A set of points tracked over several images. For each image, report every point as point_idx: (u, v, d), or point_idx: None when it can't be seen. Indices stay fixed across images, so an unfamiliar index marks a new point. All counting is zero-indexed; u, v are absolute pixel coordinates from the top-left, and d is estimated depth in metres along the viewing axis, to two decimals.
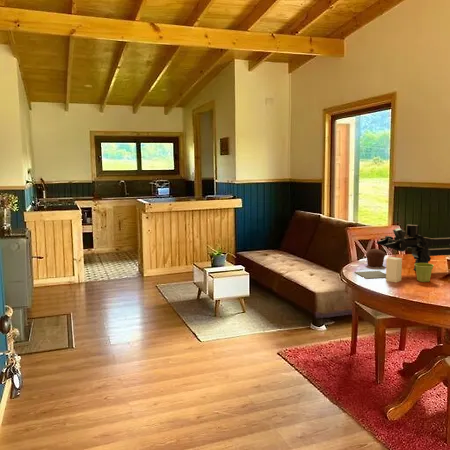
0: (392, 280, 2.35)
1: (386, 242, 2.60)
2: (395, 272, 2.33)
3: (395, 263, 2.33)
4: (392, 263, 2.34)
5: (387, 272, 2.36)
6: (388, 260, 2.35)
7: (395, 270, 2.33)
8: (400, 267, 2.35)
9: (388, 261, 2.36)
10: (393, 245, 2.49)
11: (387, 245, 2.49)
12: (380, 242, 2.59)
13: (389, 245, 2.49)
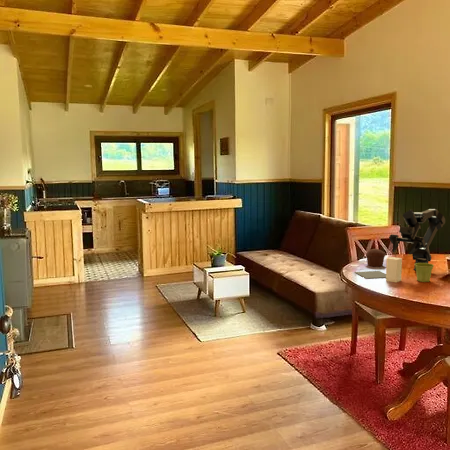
0: (392, 280, 2.35)
1: (396, 243, 2.47)
2: (395, 272, 2.33)
3: (395, 263, 2.33)
4: (392, 263, 2.34)
5: (387, 272, 2.36)
6: (388, 260, 2.35)
7: (395, 270, 2.33)
8: (400, 267, 2.35)
9: (388, 261, 2.36)
10: (414, 247, 2.39)
11: (411, 252, 2.38)
12: (394, 248, 2.45)
13: (412, 250, 2.38)
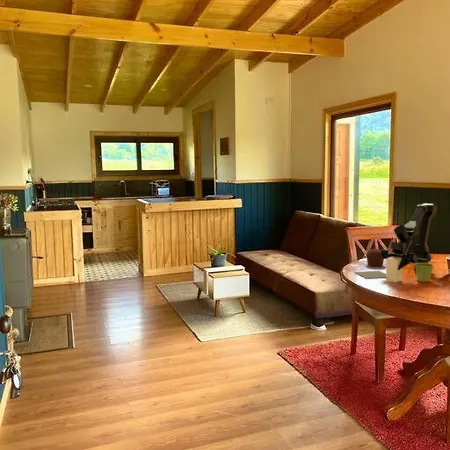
0: (392, 280, 2.35)
1: None
2: (395, 272, 2.33)
3: (395, 263, 2.33)
4: (392, 263, 2.34)
5: (387, 272, 2.36)
6: (388, 260, 2.35)
7: (395, 270, 2.33)
8: None
9: (388, 261, 2.36)
10: (403, 263, 2.34)
11: (400, 267, 2.34)
12: None
13: (401, 266, 2.34)
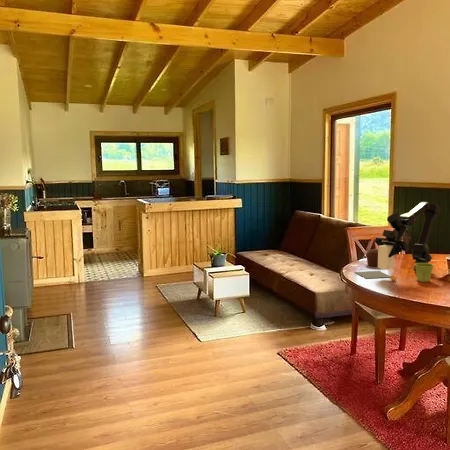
0: (383, 267, 2.39)
1: None
2: (385, 259, 2.37)
3: (386, 250, 2.36)
4: (383, 250, 2.38)
5: (379, 259, 2.40)
6: (379, 247, 2.39)
7: (386, 257, 2.37)
8: None
9: (379, 248, 2.39)
10: (394, 250, 2.37)
11: (391, 255, 2.37)
12: None
13: (392, 253, 2.37)
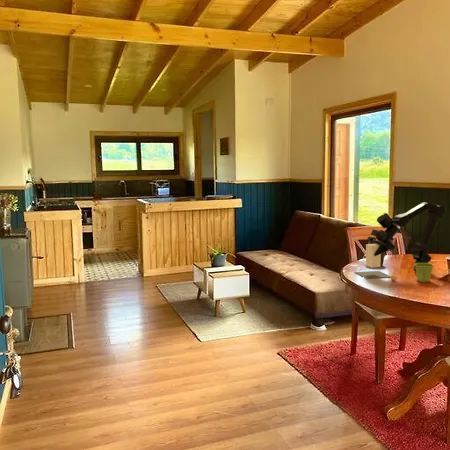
0: (369, 265, 2.48)
1: None
2: (371, 257, 2.46)
3: (371, 249, 2.46)
4: (369, 249, 2.48)
5: (366, 257, 2.51)
6: (367, 246, 2.50)
7: (371, 256, 2.46)
8: None
9: (367, 247, 2.50)
10: (381, 249, 2.45)
11: (376, 254, 2.46)
12: None
13: (378, 252, 2.45)
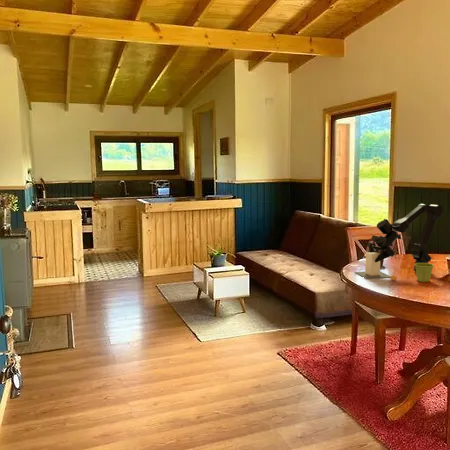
0: (369, 273, 2.49)
1: (373, 251, 2.54)
2: (370, 265, 2.47)
3: (371, 257, 2.47)
4: (369, 257, 2.48)
5: (366, 265, 2.51)
6: (366, 254, 2.50)
7: (370, 264, 2.47)
8: (378, 262, 2.47)
9: (366, 255, 2.50)
10: (381, 256, 2.45)
11: (377, 260, 2.45)
12: None
13: (378, 259, 2.45)
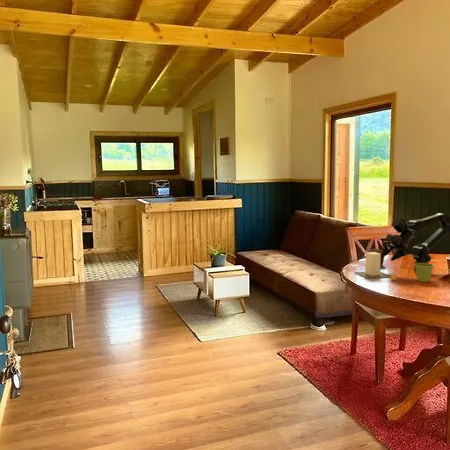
0: (369, 273, 2.49)
1: (387, 249, 2.57)
2: (370, 265, 2.47)
3: (370, 257, 2.46)
4: (369, 257, 2.48)
5: (366, 266, 2.51)
6: (366, 254, 2.50)
7: (370, 264, 2.47)
8: (378, 262, 2.47)
9: (366, 255, 2.50)
10: (397, 254, 2.47)
11: (393, 258, 2.47)
12: (383, 254, 2.56)
13: (395, 257, 2.47)
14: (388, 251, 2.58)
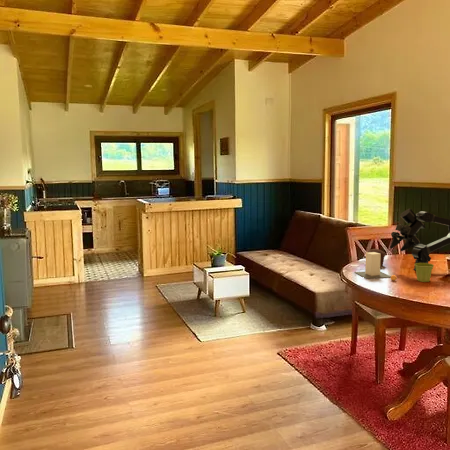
0: (369, 273, 2.49)
1: (396, 240, 2.59)
2: (370, 265, 2.47)
3: (370, 257, 2.46)
4: (369, 257, 2.48)
5: (366, 266, 2.51)
6: (366, 254, 2.50)
7: (370, 264, 2.47)
8: (378, 262, 2.47)
9: (366, 255, 2.50)
10: (407, 245, 2.48)
11: (403, 249, 2.49)
12: (392, 245, 2.58)
13: (404, 247, 2.48)
14: (397, 242, 2.59)
